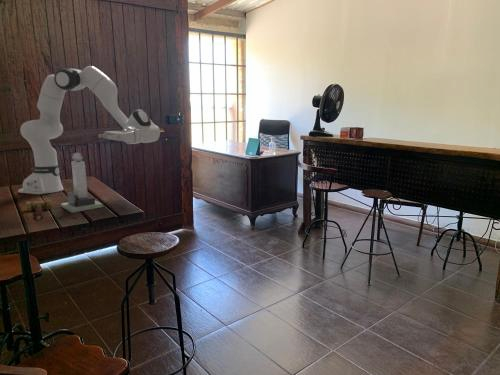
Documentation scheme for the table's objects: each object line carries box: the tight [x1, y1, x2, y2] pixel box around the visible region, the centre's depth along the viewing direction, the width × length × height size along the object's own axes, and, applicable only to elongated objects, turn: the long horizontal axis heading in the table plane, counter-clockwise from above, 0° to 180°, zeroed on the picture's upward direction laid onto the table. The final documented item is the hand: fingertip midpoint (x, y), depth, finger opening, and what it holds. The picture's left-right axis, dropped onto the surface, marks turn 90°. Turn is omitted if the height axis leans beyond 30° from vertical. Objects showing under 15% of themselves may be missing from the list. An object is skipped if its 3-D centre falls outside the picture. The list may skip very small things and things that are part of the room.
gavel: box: [25, 199, 53, 221], centre depth 168 cm, size 21×5×10 cm
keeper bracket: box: [60, 191, 104, 214], centre depth 180 cm, size 14×14×7 cm
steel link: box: [71, 152, 89, 200], centre depth 178 cm, size 4×4×24 cm
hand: (103, 136), depth 184 cm, fingers open, 8 cm apart
